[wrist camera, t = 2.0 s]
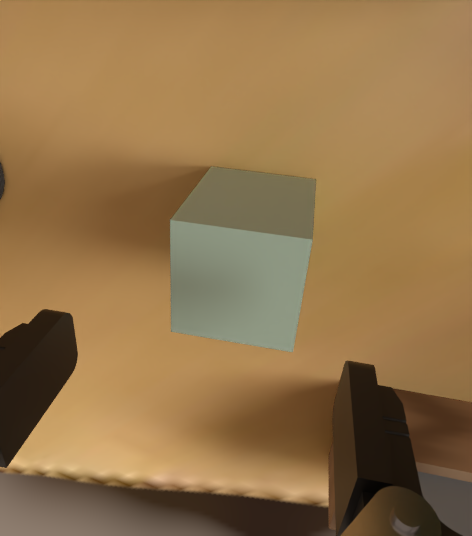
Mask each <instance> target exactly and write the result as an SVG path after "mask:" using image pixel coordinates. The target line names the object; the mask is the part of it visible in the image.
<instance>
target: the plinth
mask: <svg viewBox="0 0 472 536" xmlns="http://www.w3.org/2000/svg"><path fill="white" fill-rule="evenodd" d="M392 389H393V388H392ZM393 390H394V391H395V393H396V394H397V396H398V397H399V399H400V400H401V402H402V403H403V407H404V411H405V416H406V420H407V421H406V424H407V425H408V430H409V434H410V435H409V438H410V439H411V444H412V448H413V453H414V458H415V462H416V467H417V471H418V472H423V473H428V474H433V475H438V476H443V477H448V478H452V479H457V480H462V481H467V482H472V402H466V401H460V400H455V399H449V398H444V397H438V396H432V395H427V394H421V393H415V392H410V391H404V390H398V389H393ZM329 529H333V530H336V520H335V488H334V455H333V443H332V446H331V450H330V454H329Z"/></svg>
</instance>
